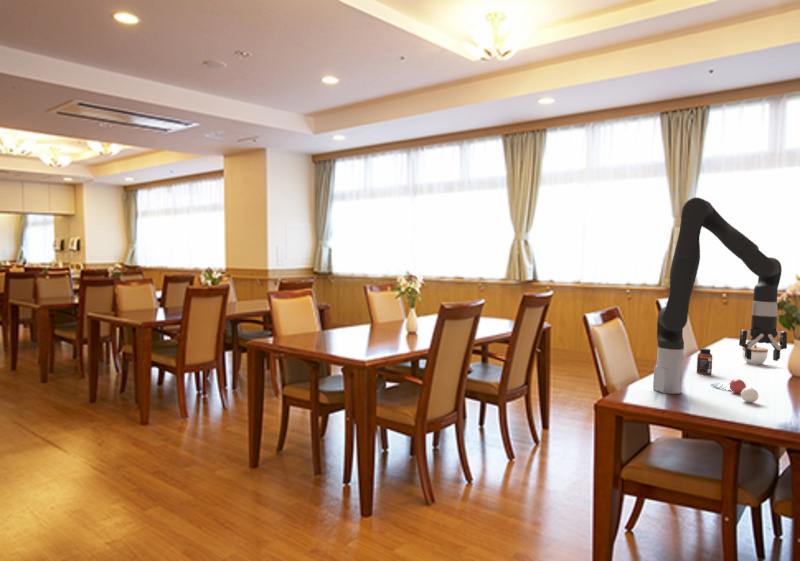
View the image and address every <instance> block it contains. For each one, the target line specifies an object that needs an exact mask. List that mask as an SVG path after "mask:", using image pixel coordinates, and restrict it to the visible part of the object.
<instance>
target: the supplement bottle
mask: <svg viewBox="0 0 800 561" xmlns="http://www.w3.org/2000/svg"><path fill="white" fill-rule="evenodd" d="M712 370H713V354H712V353H711V349H710V348H706V347H705V348H704V347H703V348H700V350H699V352H698V353H697V358H696V373H697V374H699V373H700V374H699V375H704V374H705V376H706V375H712Z"/></svg>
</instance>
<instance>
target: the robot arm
mask: <svg viewBox="0 0 800 561" xmlns="http://www.w3.org/2000/svg"><path fill="white" fill-rule="evenodd" d="M702 228H704V229H706V230H708V231H709V232H711V234H713V235H714V236H715V237H716V238H717V240H719V241H720V243H722V245H724V247H725V248H726V249H727V250H729V251H730V252H731V253H732V254H733V255H735V256H736V257H737V258H738V259H739V260H741V261H742V263H743V264H744V265H745V267H747V268H748V270H750V272H752V273H753V274H754V275H755V276H757V277H758V279H757V280H758V281H757V283H756V285H755V286H754V288H753V299H752V307H751V320H750V322H751V323H750V325H751V326H750V327H751V328H750V329H749V330H746V329H741V330H740V334H739V340H738V341H739V342H738V343H739V344H738V345H739V346H740V347H742V348H743V347H744V348H745V357H746V358H747V359H748V360H751V352H752V349H751V348H752V347H754V345H757V344H758V343H759V344H764V343H765V344H770V345H771V346H772V348H774V349H773V355H772V360H773V361H776V362H778V361H779V360H780V358H781V351H782V350H786V349H787V348H788V336H787V332H786V331H784V330H780V331H777V328H778V327H777V325H778V311H779V310H778V294H779V293H778V288H779V285H780V282H781V277H782V264H781V262H780V261H779V259H777V258H774V257H768V256H767V255H765V254H764V253H763V252H762V251H761V250H760V248H759V246H758V245H757V244H756V243H755V242H754V241H752V240H751V239H749V237H747V236H746V235H745V234H744V233H742V232H741V231H740V230H738V229H736V228H735V227H734V226H732V225H731V224H730V223H729V222H727V220H726V219H724V218H723V216H721V214H720V213H719V211H717V210H716V209H715V207H714V206H713V205H712V204H711V202H709V200H705V199H704V198H701V197H695V196H694V197H691V198H689V199H687V201H686V202H684V204H683V206H682V209H681V216H680V225H679V233H678V235H677V236H678V238H677V240H676V245H675V249H674V254H673V257H672V260H671V265H670V271H669V272H670V273H669V294H668V300H667V303H666V305H665V306H664V307H662V308H661V309H660V310H659V312H658V315H657V321H656V322H657V323H656V324H657V326H656V340H657V351H656V365H654V366H653V382H652V385H653V386H652V390H654V391H656V392H658V393H659V392H660V393H663V394H670V395H671V394H674V395H678V394H682V389H683V388H682V385H683V368H684V353H685V352H684V351H685V349H684V348H685V340H684V337H683V336H684V335H683V332H684V331H683V330H684V328H685V326H686V325H687V323H688V319H689V318H688V316H689V310H690V309H689V307H690V299H691V296H692V292H693V289H694V285H695V282H696V277H697V275H698V270H699V266H700V261H701V260H700V259H701V245H700V237H701V236H700V235H701V231H702ZM749 335H750V336H751V337H750V338H749V339H748V341H747V337H749ZM776 337H778V338H779V343H778V342H777V341H776V339H775V338H776Z"/></svg>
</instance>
